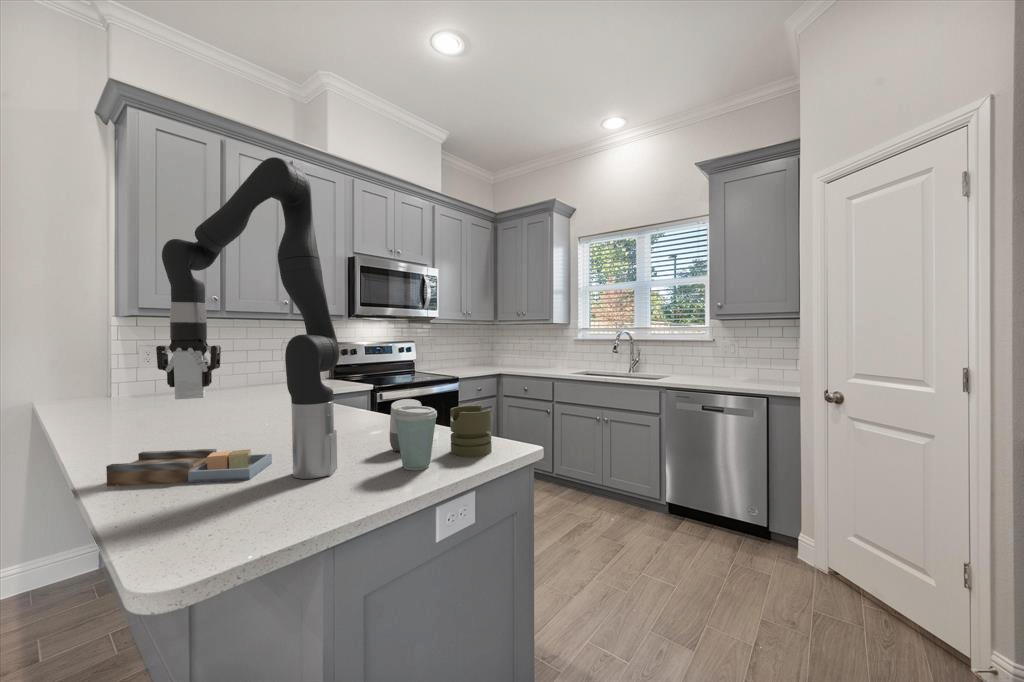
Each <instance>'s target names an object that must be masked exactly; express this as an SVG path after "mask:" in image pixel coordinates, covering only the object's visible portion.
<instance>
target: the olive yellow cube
mask: <svg viewBox="0 0 1024 682" xmlns="http://www.w3.org/2000/svg"><path fill="white" fill-rule="evenodd" d="M251 455H252V450H251V449H250V448H249V449H248V448H247V449H238V450H237V449H236V450H232V451H231V453H230V454H229V469H238V468H248V467H250V466H251Z"/></svg>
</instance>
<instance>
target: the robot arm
mask: <svg viewBox="0 0 1024 682" xmlns="http://www.w3.org/2000/svg"><path fill="white" fill-rule="evenodd" d="M310 183H311V182H310V179H309V178H308V176H307V175H306V173H305V172H304V171H303V170H302V169H300V168H298V167H296V166H295V165H294V164H292V163H290V162H288V161H287V160H284V159H283V158H279V157H277V156H276V157H274V156H273V157H272V156H271V157H268V158H266V159H264V160H263V161H262V162H261V163H260V164H258V165H257V167H255V169H254V170H253V171H252V172H251V173H250V174H249V176H248V177H247V178H246V179H245V180H244V182H243V183H242V184H241V185H240V186H239V187H238V188H237V189H236V191H235V192H234V193H233V194H232V196H230V198H229V199H228V200H227V201H226V203H224V204H223V205H222V206H221V207H220V208H219V209H218V210H217V211H215V212H214V213H213V214H212V215H210V216H208V217H207V219H206V220H204V221H203V222H202V223H200V224H199V225H198V226H197V227H196V228H195V230H194V237H195V239H196V240H197V241H194V242H193V241H188V240H186V239H185V240H184V239H181V238H172V239H169V240H168V241H166V242H165V244H164V245H163V246H162V249H161V258H162V259H161V260H162V264H163V267H164V270H165V273H166V276H167V279H168V282H169V286H170V309H169V310H170V311H169V333H170V336H169V337H170V344H169V345H166V344H165V345H164V344H163V345H162V344H161V345H157V346H156V347H155V349H156V350H155V351H156V363H157V369H158V370H159V371H164V372H166V383H167V385H169V387H170V388H175V384H174V362H173V356H172V357H171V358H170V360H169V353H170V352H171V353H172V354H173V352H174V351H189V354H190V355H193V359H194V360H195V362H196V363H197V364H198V365H199V366H200V367H201V369H202V370H203V371H204V372H202V386H203V387H205V388H206V387H209V386H210V385H212V383H213V381H212V380H213V378H212V375H213V374H212V372H213V371H214V370H217V369H220V368H221V349H222V347H221V345H218V344H217V345H209V344H208V341H207V340H208V339H207V338H208V333H207V330H208V329H207V327H208V325H207V322H208V321H207V313H208V312H207V308H206V287H205V286H206V285H205V284H204V282H203V281H201V280H200V279H197V278H195V277H194V276H193V272H192V271H202V270H206V269H208V268H209V267H210V266H212V265H213V263H215V261H216V259H217V257H219V255H220V254H221V252H222V250H223V249H224V248H225V247H226V246H228V245H229V244H230V243H232V242H233V241H234V240H236V239H237V238H238V237H239V236H241V234H242V233H243V232H244V231H245V229H246V227H247V225H248V223H249V220H250V218H251V216H252V214H253V212H254V210H255V209H256V208H257V207H258V206H260V205H261V204H262V203H264V202H265V201H267V200H269V199H271V198H272V199H275V200H277V201H279V202H280V204H281V208H282V213H283V217H284V232H283V235H282V237H281V239H280V243H279V247H278V250H277V263H278V264H277V265H278V269H279V274H280V279H281V283H282V285H283V288H284V290H285V292H286V293H287V294H288V296H289V297H290V299H291V300H292V302H293V303H294V304H295V306H296V307H297V309H298V311H299V313H300V315H301V316H302V319H303V322H304V327H305V332H306V334H297V335H295V336H292V338H291V339H290V340H289V341H288V343H287V345H286V348H285V351H284V352H285V353H284V354H285V355H284V357H285V358H284V360H285V374H286V375H285V376H286V385H287V386H286V387H287V391H288V393H289V395H290V400H291V401H290V402H291V403H290V404H291V441H292V442H291V444H292V447H291V448H292V449H291V450H292V472H293V473H292V475H293V476H292V477H294V478H296V479H301V480H302V479H303V480H308V479H319V478H322V477H328V476H329V477H330V476H332V475H333V474H334V472H336V470H337V469H338V440H337V439H338V437H337V432H338V431H337V430H336V429H335V412H334V408H335V407H334V389H333V388H332V387H329V386H327V385H325V384H324V383H323V382H322V380H321V377H322V376H321V372H322V373H323V372H328V371H331V370H333V369H334V368H335V367H336V366H337V365H338V362H339V359H340V346H339V341H338V338H337V335H336V332H335V328H334V324H333V321H332V317H331V314H330V310H329V304H328V299H327V295H326V291H325V290H326V289H325V284H324V279H323V278H324V277H323V271H322V265H321V260H320V259H321V258H320V255H319V249H318V243H317V237H316V231H315V230H316V229H315V226H314V218H313V203H312V202H313V201H312V200H313V199H312V190H311V189H312V188H311V184H310ZM195 351H201V352H202V356H203V360H202V359H201V358H200V357H199V355H198V354H197V353H196V352H195ZM207 352H208V353H209V354H210V361H209V359H208V357H207V356H206V353H207ZM195 356H196V357H195ZM197 359H198V360H197Z"/></svg>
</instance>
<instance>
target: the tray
mask: <svg viewBox="0 0 1024 682" xmlns="http://www.w3.org/2000/svg"><path fill="white" fill-rule="evenodd" d="M272 464H273V455H272V453H260V454H258V453H256V454H255V453H254V454H253V453H252V454H251V466H250V467H248V468H238V469H217V470H207V462H206V463H204V464H202V465H200V466H198V467H196V468H194V469H192V470H191V471H189V472H188V482H187V483H189V484H190V483H191V484H193V483H209V482H211V483H212V482H231V481H233V482H234V481H248V480H249V481H251V480H252V478H254V477H256V476H257V475H258V474H259V473H261V472H262V471H263V470H265V469H267V467H269V466H270V465H272Z"/></svg>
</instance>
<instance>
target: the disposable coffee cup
mask: <svg viewBox="0 0 1024 682" xmlns="http://www.w3.org/2000/svg"><path fill="white" fill-rule="evenodd" d="M437 417H438V411H437V410H436V409H435V408H433V407H430V406H423V405H422V406H399V407H397V408H396V412H395V414H394V418H395V422H396V428H397V434H398V441H399V447H400V452H399V453H400V457H401V458H400V459H401V463H402V466H403V468H404V470H406V471H421V470H426V469H427V468H429V467H430V464H431V461H432V459H431V457H432V452H433V444H434V436H435V429H436V423H437V422H436V421H437Z"/></svg>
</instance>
